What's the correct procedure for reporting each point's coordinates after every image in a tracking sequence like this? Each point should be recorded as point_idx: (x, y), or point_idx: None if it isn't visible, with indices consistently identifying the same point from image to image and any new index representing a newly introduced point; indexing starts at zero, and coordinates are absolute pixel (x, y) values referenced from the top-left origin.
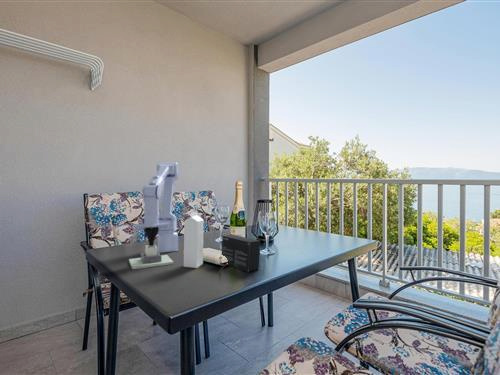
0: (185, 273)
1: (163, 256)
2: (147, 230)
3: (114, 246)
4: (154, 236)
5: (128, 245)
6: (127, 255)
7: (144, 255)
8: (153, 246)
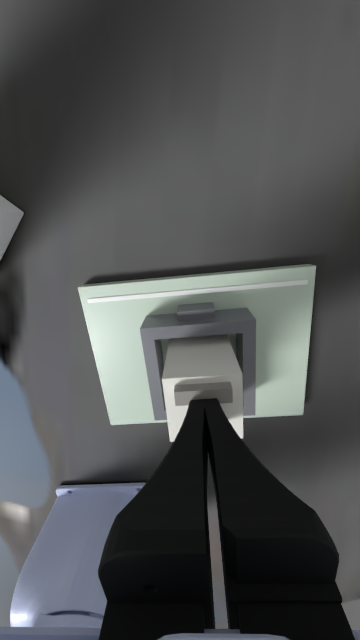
0: (7, 49)
1: (129, 402)
2: (307, 551)
3: None
4: (178, 458)
5: None
6: None
7: None
8: (189, 386)
